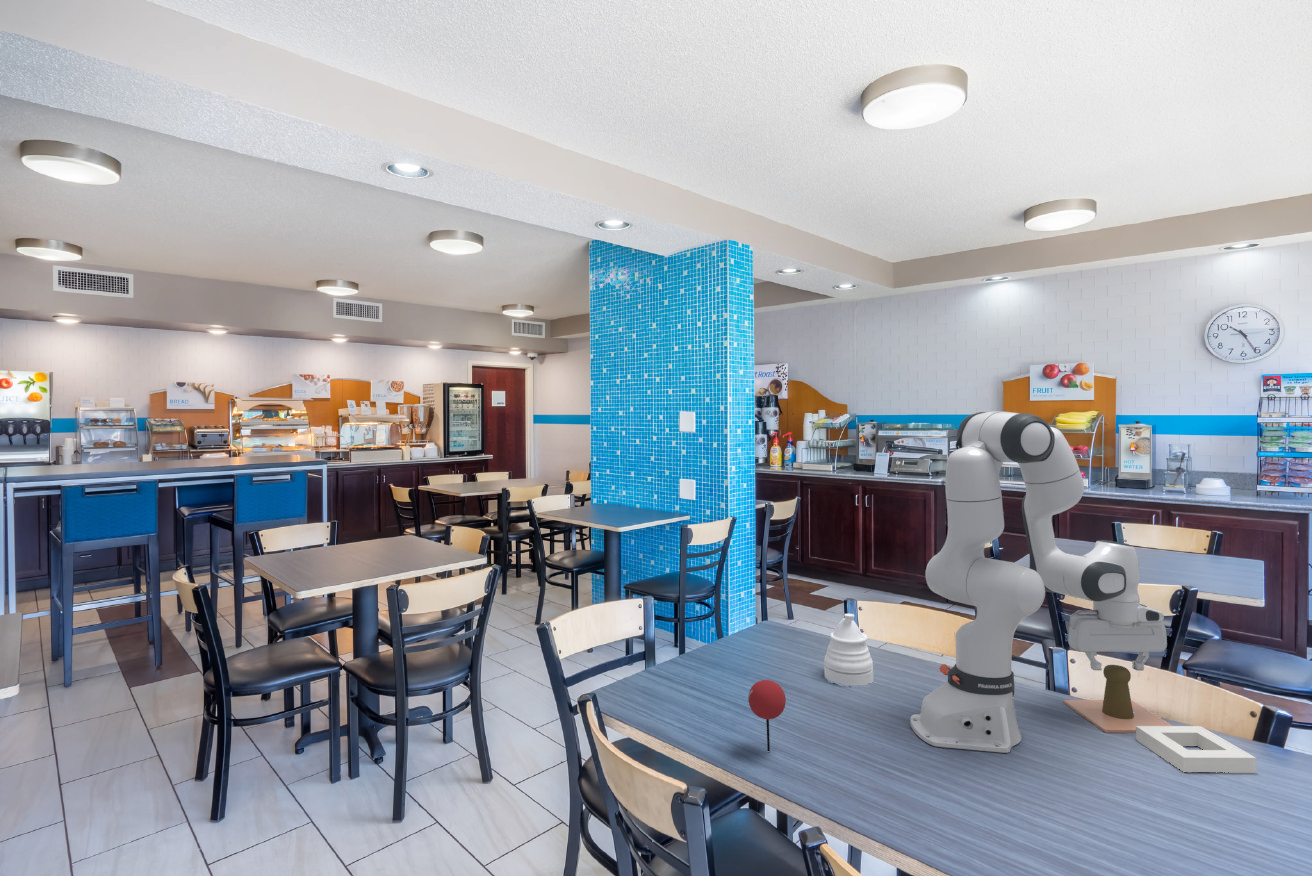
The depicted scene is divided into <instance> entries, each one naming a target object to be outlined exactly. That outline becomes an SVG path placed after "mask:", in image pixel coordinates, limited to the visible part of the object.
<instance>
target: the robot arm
mask: <svg viewBox="0 0 1312 876" xmlns="http://www.w3.org/2000/svg"><path fill="white" fill-rule="evenodd" d="M955 449H956V450H953V451H952V452H951V453H950V454H949V455H948V457H947V460H946V467H945V481H944V482H945V484H944V485H945V499H946V509H947V511H946V514H947V534H946V539H945V542H944V544H943V546H942V548H941V550H939V552H937V554H935V555H933V556H932V557H931V559H930V560H928V563H927V565H926V569H925V571H924V572H925V574H924V575H925V576H924V577H925V581H926V584H927V587H928V588H929V589H930V591H931V592H932V593H934V594H937V595H939V596H941V597H942V598H944V599H947V600H950V601H952V602H957V603H961V604H964V605H969V606H973V607H976V617H975V619H974V620H972V621H968V622H966V623H964V624H962V625H961V626H960V627H959V628H958V629H957V631H956V634H955V664H954V665H953V666H952V668H950V667H949V666H948V665H947V664H946V663H945V664H944V663H943V664H940V665H939V671H940V673H942V674H943V676H944V675H945V676H947V681H946V682H945V683H943V684H941V685H940V686H939V687H937V688H936V689H934V690H932V691H930V693H928V694H926V695H925V696H924V697H923V699H922V702H921V706H920V713H918V714H917V713H916V714H912V715H911V716H910V719H909V725H910V727H911V729H912V731H913V732H914V733H915V735H916V736H917V737H919V738H920V739H921V740H922V741H923V742H926V743H927V744H929V745H931V746H933V747H936V748H937V747H938V748H947V749H948V748H949V749H960V750H961V749H962V750H969V751H981V752H990V753H991V752H992V753H1006V754H1008V753H1010V752H1011V750H1012V748H1013V747H1014V746H1017V745H1018V744H1020V743H1021V742H1022V737H1023V736H1022V734H1021V732H1020V729H1019V724H1018V721H1017V715H1016V710H1015V704H1014V703H1015V701H1014V697H1015V685H1016V684H1015V673H1014V672H1013V670H1012V653H1013V652H1012V651H1013V640H1014V636H1015V632H1016V630H1017V628H1018V626H1019V625H1020V623H1021V622H1022V621H1024V620H1025V619H1026V618H1027V617H1029V616H1031V615H1033V614H1034V613H1036V612H1037V611H1038V610H1040V608H1041V606H1042V605H1043V603H1044V600H1045V597H1046V593H1047V592H1048V593H1053V594H1054V593H1055V594H1061V595H1065V596H1068V597H1073V598H1076V599H1077V598H1078V599H1080V600H1081V599H1082V600H1084V601H1089V602H1092V608H1093V609H1091V610H1082V609H1078V610H1076V611H1075V612H1073V613H1071V615H1070V616H1069V630H1068V641H1067V642H1068V645H1069V646H1070V647H1071V648H1072V649H1074V650H1075V651H1077V652H1082V653H1084V654H1085V655H1086V657H1087V658H1088V660H1089V661H1090V668H1091V670H1093V671H1103V670H1102V665H1103V664H1102V662H1100V661H1098V660H1097V659H1096V657H1097V653H1099V652H1100V653H1101V652H1102V653H1103V652H1105V653H1107V652H1108V653H1112V652H1113V653H1120V652H1121V653H1123V652H1124V653H1136V654H1138V655H1137V657H1136V659H1135V660H1132V661H1131V662H1132V663H1131V664H1132V665H1131V667H1132V669H1133V670H1135V671H1136V672H1137V671H1140V672H1141V671H1144V670H1145V663H1146V662H1147V660H1148V659H1149V658H1150V653H1160V652H1161V653H1162V652H1164V651H1165V650H1166V649H1167V646H1168V642H1167V641H1168V640H1167V639H1168V638H1167V628H1166V626H1165V624H1164V623H1163V622H1164V619H1165V618H1164V617H1165V615H1164V613H1163V612H1162V611H1159V610H1157V609H1154V608H1152V607H1149V606H1146V605H1145V604H1141V602H1140V595H1139V593H1138V589H1139V588H1138V587H1139V585H1140V567H1139V559H1138V553H1137V550H1136V549H1135V547H1134V546H1132V545H1131V544H1130V543H1124V542H1119V541H1113V540H1107V539H1100V540H1096V542H1095V544H1094V547H1093V548H1092V549H1091V550H1090V551H1089V552H1087V553H1086V554H1083V555H1076V554H1072V553H1066V552H1064V551H1063V550H1061V549H1060V548H1059V547H1058V546H1057V543H1056V539H1055V532H1054V526H1053V522H1052V519H1053V516H1054V515H1057V514H1058V515H1059V514H1061V513H1064V512H1065V511H1068V510H1069V509H1071V508H1073V507H1074V506H1075V505H1077V504H1078V503H1079V502H1080V500H1081V499H1082V497H1083V495H1084V492H1085V483H1084V479H1083V476H1082V472H1081V470H1080V466H1079V464H1078V461H1077V458H1076V457H1075V454H1074V452H1073V450H1072V448H1071V445H1070V444H1069V442H1068V441H1067V438H1066V437H1065V436H1064V434H1063V432H1062V431H1060V429H1058V428H1056V427H1054V426H1050V424H1048V422H1047V421H1046V420H1044V419H1043V418H1042V417H1040V416H1038V415H1035V414H1031V413H1027V412H1023V413H1022V412H1021V413H1019V412H1012V411H1011V412H1010V411H1003V410H1002V411H1001V410H999V411H997V410H995V411H988V412H987V411H980V412H975V413H972V414H970V415H968V416H966V417H964V419H962V420H961V422H960V424H959V426H958V429H957V432H956V442H955ZM1004 463H1016V464H1018V466H1019V468H1020V474H1021V475H1022V476H1021V477H1022V479H1023V482H1024V486H1025V495H1024V496H1023V498H1022V500H1021V513H1022V520H1023V521H1022V522H1023V527H1024V530H1025V531H1024V532H1025V537H1026V542H1027V547H1028V553H1029V567H1026V566H1024V565H1022V564H1018V563H1016V562H1013V561H1006V560H1002V559H1001V560H999V559H995V558H994V559H993V558H989V557H988V558H987V557H985V545H986V544H989V543H990V542H993V541H994V540H996V539H997V538H999V537H1000V536H1001V535H1002V534H1003V532H1004V529H1005V518H1004V517H1005V516H1004V508H1003V496H1002V489H1001V488H1002V487H1001V483H1000V482H1001V481H1000V472H1001V469H1002V466H1003V465H1004Z"/></svg>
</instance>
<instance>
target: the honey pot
mask: <svg viewBox="0 0 1312 876" xmlns="http://www.w3.org/2000/svg"><path fill="white" fill-rule="evenodd" d="M854 618H855V614H854V613H844V617H843V618H842V619H840V621H839V622H838V623H837V625H836V627H835V629H834V631H832V632H830V634H829V638H830V641H829V643H828V645H827V649H826V651H825V652H826V653H825V655H824V658H823V659H824V662H823V663H824V665H823V666H824V668H823V669H824V677H825V676H826V677H827V678H828V679H829V680H831V681H834V682H837V683H841V684H844V685H854V686H855V685H867V684H868V683H872V682H873V683H874V668H873V667H874V661H873V659H872V656H871V653H870V651H869V650H870V649H869V646H867V644H866V643H867V641H868V640H869V637H868V636H867V634H866V633H863V632H862V631H861V629H860V628H859V625H858V624H857V623H856V621H855V620H854ZM873 683H872V684H873Z"/></svg>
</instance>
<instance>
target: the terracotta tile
mask: <svg viewBox="0 0 1312 876" xmlns="http://www.w3.org/2000/svg"><path fill="white" fill-rule="evenodd" d="M1103 700H1104V699H1063V700H1062V703H1063V702H1064V703H1063V704H1065V705H1066V706H1067V707H1068V708H1070V709H1072V710H1073V711H1074V710H1075V711H1074V712H1076V713H1077V712H1078V713H1077V714H1079V715H1080V716H1081V715H1082V717H1083V718H1084V719H1086V720H1087V721H1088V722H1089V723H1091V724H1092V725H1094V726H1095V727H1097V728H1098V729H1099V730H1100V731H1102V732H1103V733H1107V734H1108V733H1109V734H1112V733H1113V734H1117V733H1118V734H1123V733H1124V734H1136V726H1174V725H1173V724H1171V723H1170V722H1168V721H1166V720H1165V719H1163V718H1161V717H1159V716H1158V715H1156V714H1155V713H1153V712H1151V711H1150V710H1148V709H1146V708H1145V707H1143V706H1142V705H1140V704H1138V703H1136V702H1135V701H1134V700H1131V703H1132V709H1133V712H1135V713H1133V714H1134V718H1132V719H1119V718H1114V717H1111V716H1108V715H1106V714H1104V713H1103V712H1102V707H1103Z"/></svg>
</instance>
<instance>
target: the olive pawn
mask: <svg viewBox="0 0 1312 876" xmlns="http://www.w3.org/2000/svg"><path fill="white" fill-rule="evenodd" d="M1102 671H1103V676H1104V678H1105V679H1106V680H1105V688H1104V693H1103V694H1104V695H1103V699H1102V700H1103V707H1102V712H1103V713H1104V714H1106V715H1108V716H1111V717H1114V718H1119V719H1132V718H1134V714H1133V709H1132V703H1131V701H1132V699H1131V692H1130V687H1129V683H1130V681H1131V678H1132V676H1131V675H1132V674H1131V672H1130V670H1129V669H1128V668H1127V667H1125V666H1122V665H1119V664H1107V665H1105V666H1104V668H1103V670H1102Z"/></svg>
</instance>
